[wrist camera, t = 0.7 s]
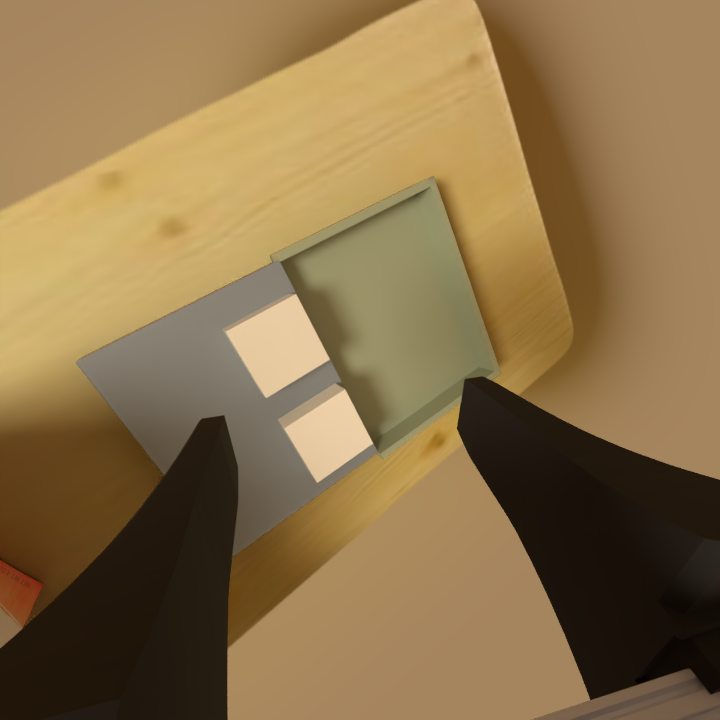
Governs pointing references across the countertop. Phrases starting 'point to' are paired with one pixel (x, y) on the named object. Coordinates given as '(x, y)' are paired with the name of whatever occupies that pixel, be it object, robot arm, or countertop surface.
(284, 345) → the tile
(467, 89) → the countertop surface
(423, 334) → the tray
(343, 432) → the tile
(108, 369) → the slate plate
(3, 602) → the cracker box
